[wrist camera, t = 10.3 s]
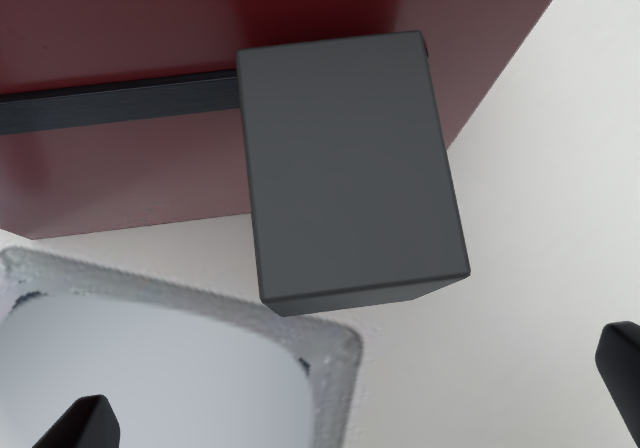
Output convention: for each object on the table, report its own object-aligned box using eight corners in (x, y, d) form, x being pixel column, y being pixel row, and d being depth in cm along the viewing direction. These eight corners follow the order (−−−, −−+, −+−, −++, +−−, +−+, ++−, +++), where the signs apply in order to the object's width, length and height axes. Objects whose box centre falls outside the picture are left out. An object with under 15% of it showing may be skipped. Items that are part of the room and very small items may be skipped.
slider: (415, 300, 11) (475, 276, 7) (279, 318, 10) (259, 304, 7) (385, 132, 12) (422, 26, 8) (260, 146, 11) (233, 46, 8)
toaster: (418, 197, 19) (634, -92, 6) (30, 245, 18) (-610, 30, 6) (381, -3, 21) (485, -524, 8) (32, 33, 20) (-430, -472, 8)
